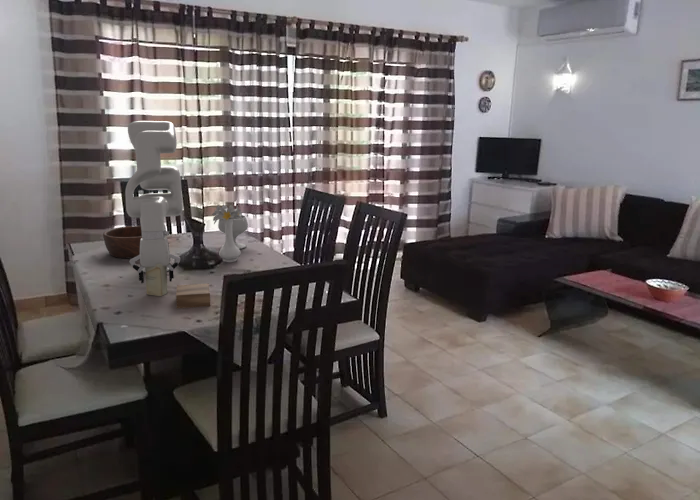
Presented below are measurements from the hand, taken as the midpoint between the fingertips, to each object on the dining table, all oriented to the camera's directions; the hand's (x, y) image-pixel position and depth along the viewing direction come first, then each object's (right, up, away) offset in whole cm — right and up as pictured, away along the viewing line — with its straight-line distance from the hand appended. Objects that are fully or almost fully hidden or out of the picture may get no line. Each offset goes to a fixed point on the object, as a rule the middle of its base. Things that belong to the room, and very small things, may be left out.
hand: (156, 281), depth 200 cm
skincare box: (0, -5, +2) cm, 5 cm away
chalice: (+13, +13, +69) cm, 71 cm away
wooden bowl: (-29, +10, +55) cm, 63 cm away
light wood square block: (+15, -7, -6) cm, 17 cm away
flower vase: (+16, +7, +46) cm, 50 cm away
